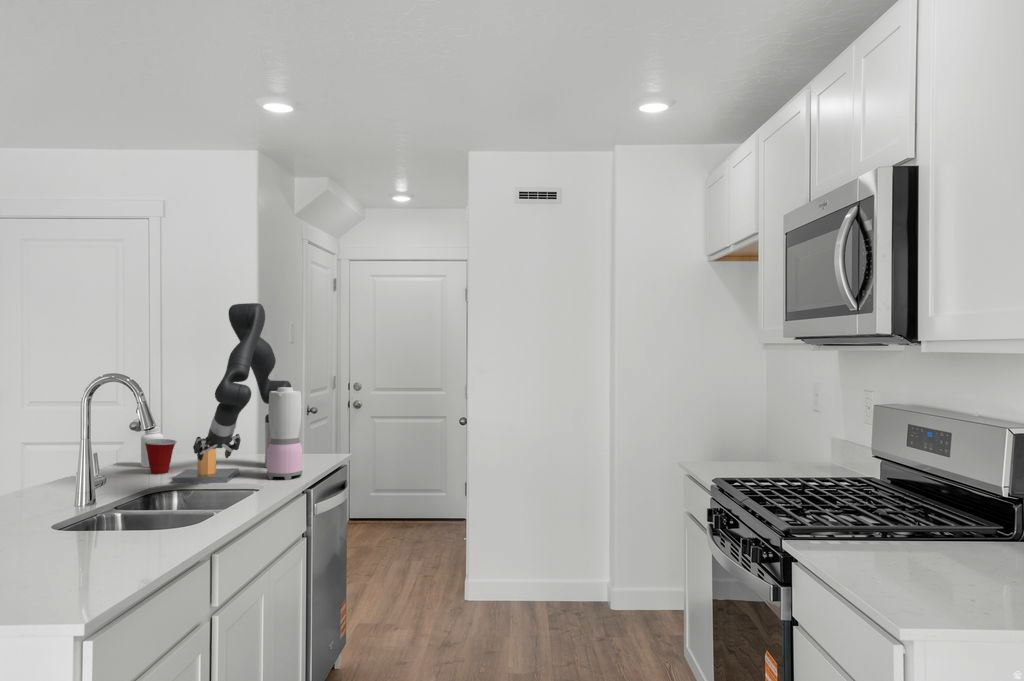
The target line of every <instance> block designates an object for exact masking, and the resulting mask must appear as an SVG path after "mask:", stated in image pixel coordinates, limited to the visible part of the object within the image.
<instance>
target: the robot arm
mask: <svg viewBox="0 0 1024 681" xmlns="http://www.w3.org/2000/svg"><path fill="white" fill-rule="evenodd" d="M228 321H229V323H230V325H231V328H232V329H233V332H234V333H235V335H236V337H237V338H238V340H239V342H238V344H237V345H235V347H234V348H233V350H231V352H230V354H229V356H228V357H229V358H228V360H227V365H226V370H225V373H224V376H223V377H222V379H221V380H220V382H219V383H218V385H217V387H216V388H215V392H214V397H215V398H214V399H215V400H216V401H217V402H218V405H217V407H216V410H215V412H214V416H213V418H212V420H211V423H210V426H209V429H208V432H207V436H206V437H205V438H201V436H197V437H196V439H195V441H194V443H193V446H192V449H193V452H194V454H196V455H197V460H198V459H199V460H202V458H203V455H204V453H205V452H206V451H207V452H208V451H210V450H211V449H215V448H216V449H223V448H224V449H225V451H224V457H225V459H228V458H229V457H230V456H232V452H233V451H238V450H239V448H240V444H241V437H240V434H239V433H236V434H235V436H233V435H234V433H235V430H236V426H237V420H238V417H239V415H240V413H241V411H243V409H245V407H246V406H247V405H248V403H249V402H250V400H251V398H252V390H251V388H250V387H249V386H248V385H246V384H242V382H245V381H247V379H248V378H249V375H250V371H252V374H253V375H254V379H255V381H256V384H257V388H258V392H259V394H260V397H261V400H262V402H263V403H264V404H266V405H269V393H270V392H271V391H278V388H281V387H292V384H291V382H290V381H289V380H271V379H270V378H269V377H270V375H271V373H272V372H273V370H274V368H275V365H276V356H275V353H274V350H273V348H272V346H271V345H270V344H269V342H267V341H266V340H265V339H264V338H262V337H261V334H262V332H263V329H264V326H265V323H266V322H265V321H266V312H265V308H264V306H263V305H262V304H261V303H258V302H257V303H256V302H252V303H251V302H250V303H249V302H248V303H235V304H232V305H231V306H230V307H229V308H228ZM250 369H251V370H250ZM264 421H265V422H264V424H265V426H264V432H265V433H264V467H265V468H267V449H268V446H269V444H270V442H271V432H270V427H269V413H267V414H266V415H265V417H264ZM232 441H233V444H231V443H232ZM202 444H203V445H202ZM208 446H209V447H208ZM203 448H204V449H203Z"/></svg>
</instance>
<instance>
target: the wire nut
mask: <svg viewBox="0 0 1024 681" xmlns="http://www.w3.org/2000/svg"><path fill="white" fill-rule="evenodd" d="M202 445H203V444H202ZM208 447H209V446H208ZM203 449H204V448H203ZM196 466H197V468H196V469H197V474H201V475H203V474H214V473H216V469H217V448H215V449H211V450H210V451H208V452H207V451H206V452H205V453H204V455H203V458H202V460H199V459H198V458H197V464H196Z"/></svg>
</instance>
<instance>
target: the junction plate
mask: <svg viewBox="0 0 1024 681" xmlns="http://www.w3.org/2000/svg"><path fill="white" fill-rule="evenodd" d="M239 474H240V468H236V467H235V468H234V467H233V468H216V473H214V474H203V475H201V474H197V468H187V469H185V470H183V471H182V472H180V473H178V474H176V475H174V476H173V477H171V484H174V485H176V484H216V483H217V484H222V483H223V484H225V483H229V482H231V480H232V479H234V478H235V477H237V476H238V475H239Z"/></svg>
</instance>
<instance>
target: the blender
mask: <svg viewBox="0 0 1024 681" xmlns="http://www.w3.org/2000/svg"><path fill="white" fill-rule="evenodd" d="M302 404H303V403H302V392H301V391H300V390H294V387H292V386H291V387H281V388H278V391H271V392H270V393H269V404H268V414H269V427H270V432H271V442H270V444H269V446H268V449H267V467H266V475H267V478H268V480H271V481H272V480H274V477H275V478H276V477H277V478H279V477H280V478H282V477H283V478H284V480H285V481H290V480H291V479H292V477H294V476H302V474H303V446H302V443H301V442H300V437H299V436H300V431H301V424H302V410H303V408H302Z"/></svg>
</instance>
